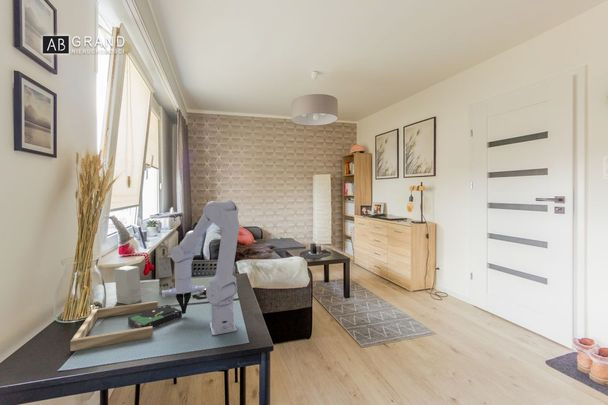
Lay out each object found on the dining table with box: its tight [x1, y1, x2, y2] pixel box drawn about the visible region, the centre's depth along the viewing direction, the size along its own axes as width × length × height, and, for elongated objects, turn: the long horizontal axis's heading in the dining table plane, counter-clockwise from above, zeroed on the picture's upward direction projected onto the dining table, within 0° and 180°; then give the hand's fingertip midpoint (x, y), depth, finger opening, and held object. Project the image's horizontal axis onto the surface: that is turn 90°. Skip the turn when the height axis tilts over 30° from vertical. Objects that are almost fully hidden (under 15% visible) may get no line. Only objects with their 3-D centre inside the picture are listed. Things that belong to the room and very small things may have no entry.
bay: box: [69, 300, 159, 352], centre depth 101 cm, size 25×22×3 cm
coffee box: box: [158, 254, 175, 294], centre depth 138 cm, size 9×6×16 cm
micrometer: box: [191, 286, 209, 300], centre depth 134 cm, size 15×7×2 cm, turn 154°
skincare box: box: [114, 265, 142, 305], centre depth 123 cm, size 8×6×15 cm
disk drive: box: [127, 304, 183, 329], centre depth 106 cm, size 10×3×15 cm
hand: (183, 312), depth 109 cm, fingers closed
